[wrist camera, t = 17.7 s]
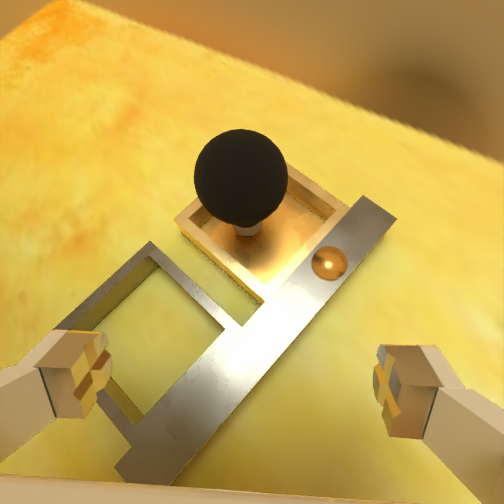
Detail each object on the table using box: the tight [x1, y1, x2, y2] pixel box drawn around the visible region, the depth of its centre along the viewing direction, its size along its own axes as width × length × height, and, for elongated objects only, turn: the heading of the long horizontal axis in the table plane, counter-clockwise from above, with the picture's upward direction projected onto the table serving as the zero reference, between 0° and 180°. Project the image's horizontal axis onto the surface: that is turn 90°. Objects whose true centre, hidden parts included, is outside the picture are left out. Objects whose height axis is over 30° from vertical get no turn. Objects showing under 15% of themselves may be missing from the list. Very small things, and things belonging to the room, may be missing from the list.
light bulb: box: [194, 129, 288, 236], centre depth 23 cm, size 6×6×10 cm
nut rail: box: [52, 162, 397, 486], centre depth 24 cm, size 13×24×3 cm, turn 137°
